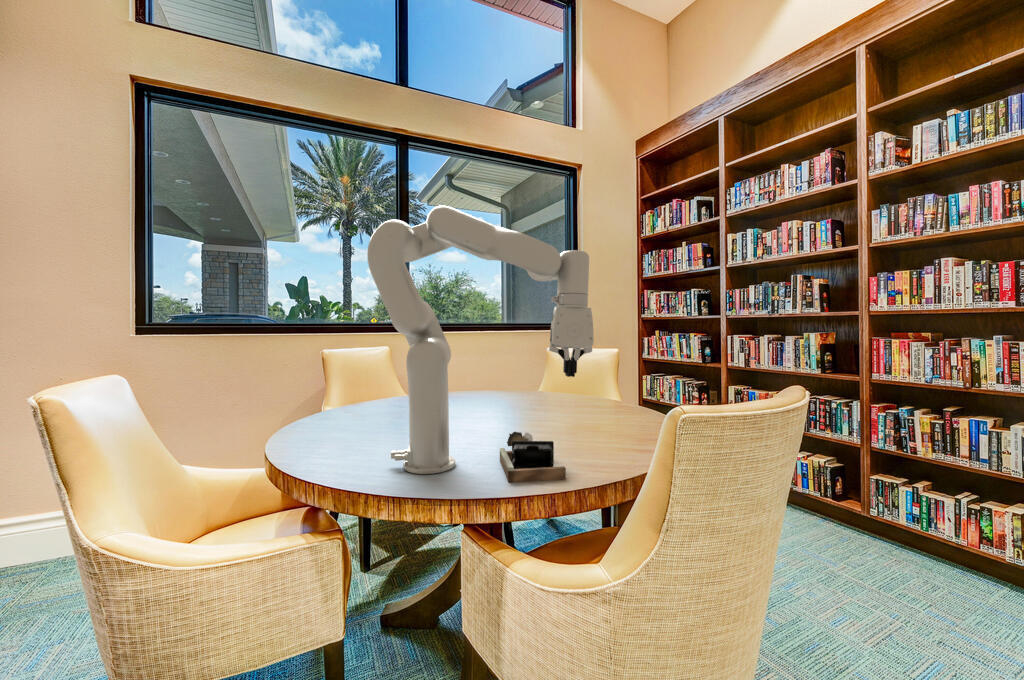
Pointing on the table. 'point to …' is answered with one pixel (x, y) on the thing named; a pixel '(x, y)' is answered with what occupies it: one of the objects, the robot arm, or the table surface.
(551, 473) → the wooden tray
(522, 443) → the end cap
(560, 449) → the table surface
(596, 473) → the table surface
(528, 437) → the squirrel figurine
